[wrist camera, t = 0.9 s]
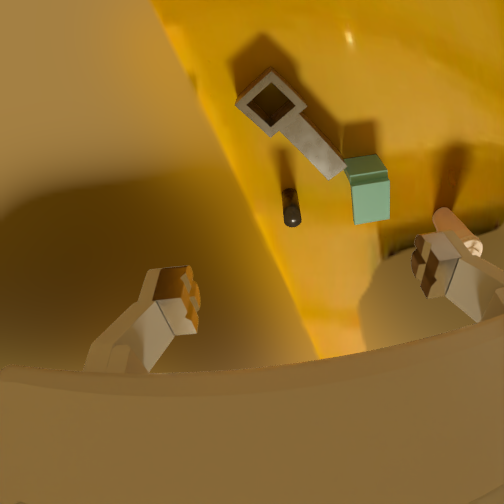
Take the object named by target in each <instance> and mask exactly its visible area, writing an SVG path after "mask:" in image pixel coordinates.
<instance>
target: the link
mask: <svg viewBox="0 0 504 504" xmlns="http://www.w3.org/2000/svg"><path fill="white" fill-rule="evenodd" d="M271 82H272V83H273V84H274V85H275V86H276V87H277V88H278V89H279V90H280V91H281V92H282V93H283V94H284V95H285V96H287V97H288V98H289V99H290V100H289V101H288V102H287V103H286V104H284V105H283V106H282V107H281V108H280V109H279V110H277V111H276V112H275V113H274V114H273V115H272V116H271V117H270V116H268V115H267V114H266V113H265V112H264V111H263V110H262V109H261V108H260V107H259V106H258V105H257V104H255V103H254V102H253V101H252V99H253V98H254V97H255V96H256V95H258V94H259V93H260V92H261V91H262V90H263V89H264V88H265V87H266V86H268V85H269V84H270V83H271ZM235 106H236V107H237V108H238V109H240V110H241V111H242V112H243V113H244V114H245V115H246V116H247V117H249V118H250V119H251V120H252V121H253V122H254V123H255V124H256V125H257V126H259V127H260V128H261V129H262V130H263V131H264V132H265V133H266V134H267V135H268V136H269V137H272V136H273V135H274V134H275V133H277V132H278V131H280V132H281V133H282V134H283V135H284V136H285V137H286V138H287V139H288V140H289V141H290V142H291V143H292V144H293V145H294V146H296V147H297V148H298V149H299V150H300V151H301V152H302V153H303V155H304V156H305V157H306V158H307V159H308V160H309V161H310V162H311V163H312V164H313V165H314V166H315V167H316V168H317V169H318V170H319V171H320V172H321V173H322V174H323V175H324V176H325V177H326V178H327V179H328V180H330V179H331V178H333V177H334V176H335V175H337V174H338V173H339V172H341V171H342V170H343V169H345V168H346V167H347V165H346V163H345V161H344V159H343V157H342V155H341V153H340V152H339V151H338V150H337V149H336V147H335V146H334V145H333V144H332V143H331V142H330V141H329V140H328V138H327V137H326V136H325V135H324V134H323V133H322V132H321V131H320V130H319V129H318V128H317V126H316V125H315V124H314V123H313V122H312V121H311V120H310V119H309V118H308V117H307V116H306V115H305V114H304V113H303V112H302V111H303V110H304V109H305V108H306V107H307V104H306V102H305V101H304V99H303V97H302V96H301V95H300V94H299V93H298V92H297V91H296V90H295V89H294V88H293V87H292V86H291V85H290V84H289V83H288V82H287V81H286V80H285V79H284V78H283V77H282V76H281V75H279V74H278V73H277V72H276V71H275V70H274V69H273V68H272V67H271V66H270V67H269V68H268V69H267V70H266V71H264V72H263V73H262V74H261V75H260V76H259V77H258V78H257V79H256V80H255V81H253V82H252V83H251V84H250V85H249V86H248V87H247V88H246V89H245V90H244V91H243V92H242V93H241V94H240V95H239V96H238V97H237V99H236V102H235Z"/></svg>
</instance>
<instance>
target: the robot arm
mask: <svg viewBox="0 0 504 504" xmlns="http://www.w3.org/2000/svg"><path fill="white" fill-rule="evenodd" d="M414 244H415V246H416V249H415V251H414V252H413V253H412V257H411V268H412V272H413V274H414V276H415V278H417V279H418V280H420V281H421V285H420V287H421V289H422V291H423V292H424V294H425V296H426V298H427V299H431V298H436V297H441V296H446V297H447V298H448V299H449V300H450V301H452V302H453V303H454V304H455V305H457V306H458V307H459V308H460V309H461V310H463V311H464V312H465V313H466V314H467V315H469V316H470V317H471V318H472V319H473V320H474V321H476V322H477V323H475V324H472V325H469V326H465V327H463V328H459V329H456V330H452V331H449V332H445V333H441V334H438V335H434V336H431V337H427V338H423V339H419V340H415V341H411V342H407V343H403V344H399V345H394V346H390V347H385V348H380V349H376V350H371V351H366V352H361V353H355V354H350V355H345V356H339V357H333V358H327V359H321V360H314V361H308V362H301V363H293V364H285V365H277V366H268V367H259V368H249V369H237V370H224V371H208V372H188V373H149V371H150V370H151V368H152V367H153V366H154V364H155V363H156V361H157V360H158V359H159V357H160V356H161V355H162V353H163V352H164V350H165V349H166V348H167V346H168V345H169V343H170V342H171V341H172V339H173V338H174V335H184V334H193V333H197V328H198V319H199V318H198V316H197V313H196V312H197V311H198V310H199V309H200V294H199V288H198V285H197V283H196V282H194V281H193V280H192V279H193V272H192V269H191V267H190V266H188V265H187V266H179V267H168V268H162V269H151V270H149V271H148V272H147V274H146V277H145V280H144V283H143V286H142V290H141V293H140V296H139V300H138V303H133V304H132V305H131V306H130V307H129V308H128V309H127V310H126V311H125V312H124V313H123V314H122V315H121V316H120V317H119V318H118V319H117V320H116V321H115V322H113V324H111V325H110V326H109V327H108V328H107V329H106V330H105V331H104V332H103V333H102V334H101V335H100V336H99V337H98V338H97V339H96V340H95V341H94V342H93V343H92V344H91V347H90V350H89V353H88V356H87V359H86V362H85V365H84V369H83V371H68V370H55V369H45V368H36V367H27V366H21V365H12V364H11V365H7V366H6V367H4V368H3V369H1V370H0V504H504V271H503V270H502V269H500V268H498V267H496V266H495V265H493V264H491V263H489V262H487V261H486V260H484V259H482V258H480V257H478V256H477V255H472V254H471V253H470V251H469V250H468V249H467V247H466V246H465V245H464V243H463V242H462V241H461V240H460V238H459V237H458V236H457V235H456V233H455V232H454V231H453V230H451V229H449V230H443V231H439V232H433V233H426V234H419V235H417V236H416V238H415V242H414Z"/></svg>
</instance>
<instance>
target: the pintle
mask: <svg viewBox="0 0 504 504" xmlns="http://www.w3.org/2000/svg"><path fill="white" fill-rule="evenodd" d="M282 204H283V215H284V223H285V224H286V225H287V226H289V227H296V226H298V225H299V224H300V223H301V214H300V208H299V202H298V196H297V192H296V191H295V190H294V189H291V188H288V189H285V190H284V191H283V192H282Z"/></svg>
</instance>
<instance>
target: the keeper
mask: <svg viewBox="0 0 504 504" xmlns="http://www.w3.org/2000/svg"><path fill="white" fill-rule="evenodd" d="M344 161H345V163H346V165H347V167H346V168H345V169H344V171H345V173H346V176H347V178H348V180H349V182H350V185H351V196H352V208H353V221H354V224H355V225H357V224H362V223H368V222H374V221H380V220H385V219H390V180H389V179H388V174H387V169H386V167H385V166H384V164H383V163H382V161H381V160H380V159H379V157H378V156H377V154H374V155H367V156H361V157H354V158H348V159H344Z"/></svg>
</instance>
